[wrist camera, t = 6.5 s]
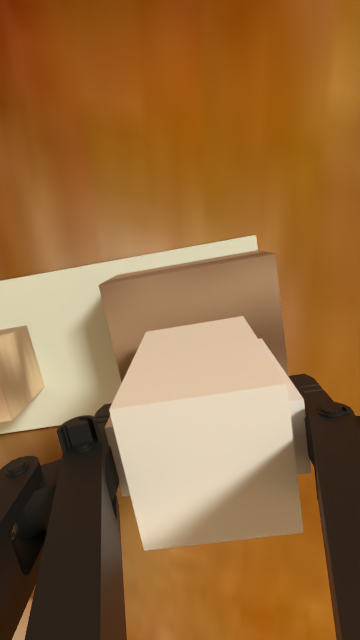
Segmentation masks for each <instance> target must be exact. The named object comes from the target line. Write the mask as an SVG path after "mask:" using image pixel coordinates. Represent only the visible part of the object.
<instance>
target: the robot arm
mask: <svg viewBox="0 0 360 640" xmlns="http://www.w3.org/2000/svg"><path fill="white" fill-rule="evenodd" d="M258 340H259V341H260V343H261V344H262V346H263V347H264V349H265V350H266V352H267V354H268V355H269V357H270V358H271V360H272V361H273V363H274V364H275V366H276V367H277V369H278V370H279V372H280V374H281V375H282V377H283V378H284V380H285V381H286V383H287V387H288V396H289V405H290V414H291V424H292V433H293V442H294V451H295V460H296V469H297V475H298V474H306V473H311V466H310V460H311V462H312V464H313V466H314V469H315V479H316V490H317V500H318V502H319V510H320V517H321V525H322V533H323V540H324V548H325V555H326V563H327V570H328V578H329V585H330V593H331V601H332V608H333V616H334V623H335V631H336V638H337V640H360V416H355V414H354V412H353V411H352V409H351V408H350V407H348V406H346V405H344V404H341V403H337V402H334V401H333V400H332V399H331V398H330V397H329V396H328V394H327V393H326V392H325V391H324V390H323V389H322V387H321V386H320V385H319V384H318V383H317V382H316V380H315V379H314V378H312V377H310V376H308V375H306V374H299V375H293V376H287V374H286V373H285V371H284V370H283V368H282V367H281V366H280V364H279V363H278V361H277V360H276V358H275V357H274V355H273V354H272V353H271V351H270V350H269V348H268V347H267V345H266V344H265V342H264V341H263V340H262V338H261V339H258ZM111 405H112V403H110V404H104V405H103V406H102V407H101V408H100V409H99V410H97V412H96V413H95V415H94V416H92V415H83V416H78V417H75V418H72V419H70V420H68V421H66V422H64V423H63V424H62V425H61V426H60V427H59V428H58V430H57V434H58V437H59V441H60V444H61V447H62V451H63V455H62V459H60V460H57V461H54V462H51V463H48V464H45V465H42V466H40V463H39V460H38V458H37V457H35V456H25V457H22V458H21V457H20V458H17V459H16V460H13V461H11V462H10V463H8V464H7V465H5V466H4V467H3V468H2V469H1V470H0V640H12V638H13V635H14V633H15V631H16V628H17V626H18V624H19V621H20V619H21V617H22V614H23V612H24V610H25V607H26V605H27V603H28V601H29V598H30V596H31V594H32V591H33V589H34V587H35V585H36V587H35V592H34V597H33V601H32V606H31V611H30V616H29V621H28V626H27V631H26V636H25V640H127V637H126V620H125V603H124V586H123V569H122V552H121V534H120V517H119V504H118V500H117V496H116V491H117V488H118V485H119V486H120V490H121V494H122V497H125V496H130V492H129V488H128V484H127V480H126V476H125V472H124V468H123V464H122V460H121V456H120V452H119V448H118V444H117V440H116V436H115V432H114V428H113V424H112V420H111V416H110V412H109V409H110V407H111ZM12 529H13V530H14V532H13V533H12Z"/></svg>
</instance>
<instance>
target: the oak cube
mask: <svg viewBox="0 0 360 640" xmlns="http://www.w3.org/2000/svg"><path fill="white" fill-rule="evenodd" d="M44 387H45V385H44V382H43V378H42V375H41V372H40V368H39V365H38V361H37V358H36V355H35V351H34V348H33V345H32V341H31V338H30V334H29V331H28V328H27V325H25V326H19V327H13V328H7V329H2V330H0V422H5V421H12V420H13V419H14V418H15V417H16V416H17V415H18V414H19V413H20V412H21V411H22V409H23V408H24V407H25V406H26V405H27V404H28V403H29V402H30V401H31V400H32V399H33V398H34V397H35V396H36V395H37V394H38V393H39V392H40V391H41V390H42V389H43V388H44Z"/></svg>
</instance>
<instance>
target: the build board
mask: <svg viewBox="0 0 360 640" xmlns="http://www.w3.org/2000/svg"><path fill="white" fill-rule="evenodd" d="M255 250H258V249H257V240H256V235H253V236H247V237H242V238H236V239H230V240H225V241H219V242H214V243H208V244H203V245H197V246H191V247H186V248H180V249H175V250H169V251H164V252H158V253H153V254H147V255H141V256H136V257H130V258H125V259H119V260H114V261H108V262H103V263H97V264H91V265H86V266H80V267H75V268H69V269H64V270H58V271H53V272H47V273H41V274H36V275H30V276H25V277H19V278H14V279H8V280H3V281H0V330H2V329H7V328H13V327H19V326H25V325H27V328H28V331H29V334H30V338H31V341H32V345H33V348H34V351H35V355H36V358H37V361H38V365H39V368H40V372H41V375H42V378H43V382H44V385H45V387H44V388H43V389H42V390H41V391H40V392H39V393H38V394H37V395H36V396H35V397H34V398H33V399H32V400H31V401H30V402H29V403H28V404H27V405H26V406H25V407H24V408H23V409H22V411H21V412H20V413H19V414H18V415H17V416H16V417H15V418H14V419H13V420H12V421H5V422H0V434H3V433H10V432H17V431H24V430H30V429H37V428H44V427H51V426H58V425H62V424H63V423H64V422H66V421H68V420H70V419H72V418H75V417H78V416H83V415H92V416H94V415H95V413H96V412H97V410H99V409H100V408H101V407H102V406H103V405H104V404H110V403H113V400H114V398H115V396H116V394H117V392H118V390H119V388H120V386H121V384H122V382H121V378H120V374H119V369H118V365H117V361H116V357H115V353H114V348H113V344H112V340H111V336H110V331H109V327H108V323H107V319H106V315H105V310H104V306H103V302H102V298H101V293H100V289H99V284H101V283H103V282H105V281H107V280H109V279H110V278H112V277H114V276H116V275H119V274H125V273H130V272H136V271H142V270H147V269H153V268H159V267H164V266H170V265H176V264H181V263H187V262H193V261H198V260H204V259H210V258H215V257H221V256H227V255H232V254H238V253H244V252H249V251H255Z"/></svg>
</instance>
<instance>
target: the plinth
mask: <svg viewBox="0 0 360 640" xmlns="http://www.w3.org/2000/svg"><path fill="white" fill-rule="evenodd" d="M99 289H100V293H101V298H102V302H103V306H104V310H105V315H106V319H107V323H108V327H109V331H110V336H111V340H112V344H113V348H114V353H115V357H116V361H117V365H118V369H119V374H120V378H121V382H122V381H123V379H124V377H125V375H126V373H127V371H128V369H129V367H130V365H131V362H132V360H133V358H134V356H135V354H136V352H137V350H138V348H139V346H140V344H141V341H142V339H143V337H144V335H145V333H146V332H148V331H154V330H160V329H166V328H172V327H179V326H185V325H191V324H197V323H203V322H209V321H215V320H222V319H228V318H234V317H240V316H243V317H244V318H245V320H246V321H247V323H248V324H249V326H250V327H251V329H252V330H253V332H254V334H255V335H256V337H257V338H258V339H261V338H262V340H263V341H264V342H265V344H266V345H267V347H268V348H269V350H270V351H271V353H272V354H273V355H274V357H275V358H276V360H277V361H278V363H279V364H280V366H281V367H282V368H283V370H284V371H285V373H286V374H287V376H288V366H287V357H286V348H285V338H284V329H283V320H282V310H281V301H280V291H279V282H278V273H277V263H276V254H273V253H269V252H264V251H260V250H255V251H249V252H244V253H238V254H232V255H227V256H221V257H215V258H210V259H204V260H198V261H193V262H187V263H181V264H176V265H170V266H164V267H159V268H153V269H147V270H142V271H136V272H130V273H125V274H119V275H116V276H114V277H112V278H110V279H109V280H107V281H105V282H103V283H101V284H99Z"/></svg>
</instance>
